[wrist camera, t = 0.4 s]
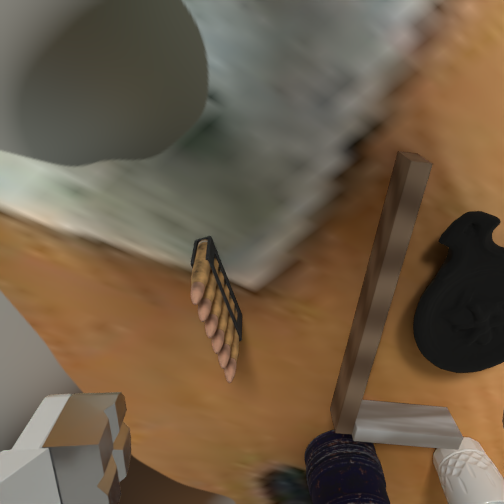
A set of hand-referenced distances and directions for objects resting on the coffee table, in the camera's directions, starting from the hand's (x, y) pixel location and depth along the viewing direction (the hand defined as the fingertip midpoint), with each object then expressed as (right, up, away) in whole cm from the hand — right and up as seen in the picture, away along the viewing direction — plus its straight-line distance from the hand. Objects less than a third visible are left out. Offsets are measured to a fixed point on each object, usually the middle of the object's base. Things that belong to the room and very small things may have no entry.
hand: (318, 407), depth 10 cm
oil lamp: (+22, 0, +42) cm, 48 cm away
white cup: (+27, -24, +54) cm, 65 cm away
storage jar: (+11, -24, +54) cm, 60 cm away
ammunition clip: (-5, 0, +42) cm, 42 cm away
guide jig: (+18, -3, +43) cm, 47 cm away
